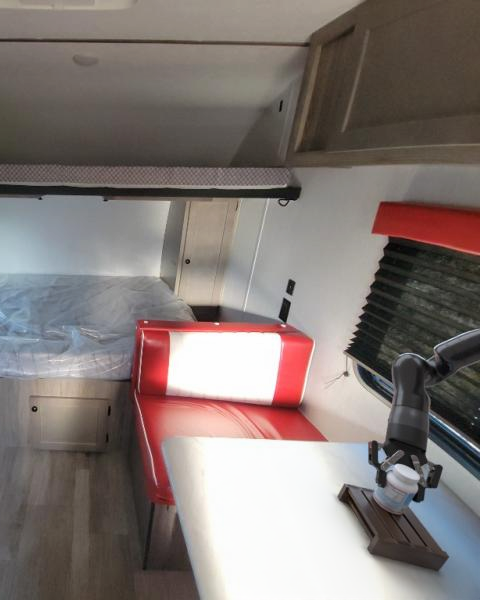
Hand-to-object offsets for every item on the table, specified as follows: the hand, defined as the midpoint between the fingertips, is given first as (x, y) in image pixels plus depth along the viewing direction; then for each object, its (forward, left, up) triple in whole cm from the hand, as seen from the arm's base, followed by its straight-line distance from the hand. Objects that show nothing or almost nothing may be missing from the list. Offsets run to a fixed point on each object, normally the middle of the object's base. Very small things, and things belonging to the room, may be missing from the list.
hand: (398, 494), depth 81 cm
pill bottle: (-1, -2, -5) cm, 6 cm away
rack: (+1, +2, -10) cm, 11 cm away
